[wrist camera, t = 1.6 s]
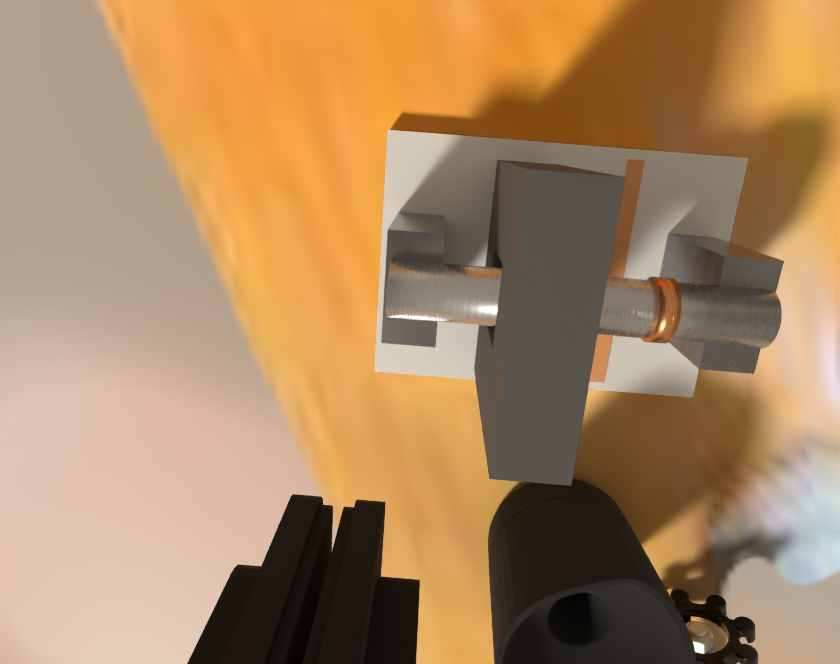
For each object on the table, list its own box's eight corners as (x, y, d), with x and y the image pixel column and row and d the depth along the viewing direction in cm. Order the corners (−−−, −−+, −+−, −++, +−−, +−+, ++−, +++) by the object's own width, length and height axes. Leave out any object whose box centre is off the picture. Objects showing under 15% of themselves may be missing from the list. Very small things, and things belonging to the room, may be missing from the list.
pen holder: (508, 610, 40) (529, 758, 30) (461, 494, 37) (468, 616, 27) (647, 572, 38) (714, 714, 29) (608, 450, 36) (669, 561, 26)
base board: (739, 157, 30) (749, 158, 29) (685, 390, 34) (693, 398, 33) (389, 130, 30) (387, 129, 29) (376, 365, 34) (374, 371, 33)
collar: (558, 164, 29) (625, 177, 18) (529, 373, 32) (570, 485, 22) (497, 159, 29) (528, 169, 18) (473, 369, 32) (489, 478, 22)
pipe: (714, 237, 31) (803, 267, 23) (693, 329, 32) (770, 386, 25) (398, 211, 31) (384, 234, 23) (392, 304, 32) (377, 353, 25)
